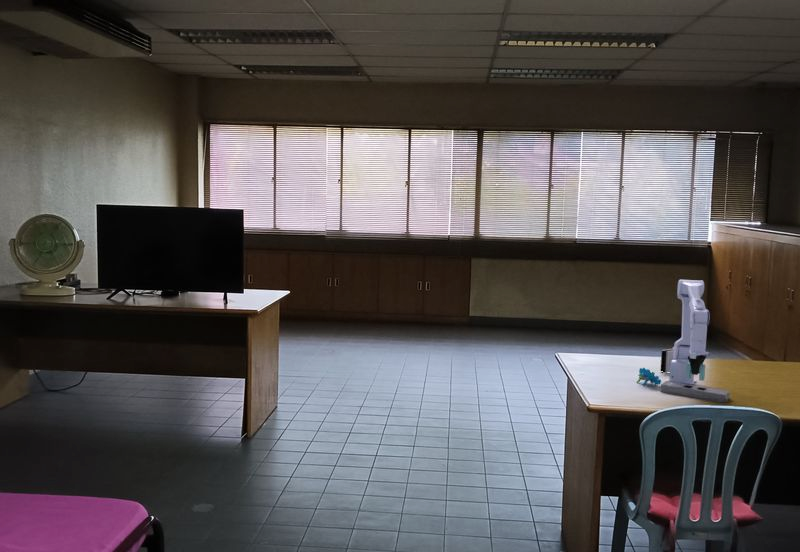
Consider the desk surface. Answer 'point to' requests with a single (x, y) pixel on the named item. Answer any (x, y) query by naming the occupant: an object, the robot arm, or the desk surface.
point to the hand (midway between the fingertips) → (695, 373)
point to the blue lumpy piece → (648, 376)
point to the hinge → (666, 359)
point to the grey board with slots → (695, 391)
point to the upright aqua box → (701, 370)
